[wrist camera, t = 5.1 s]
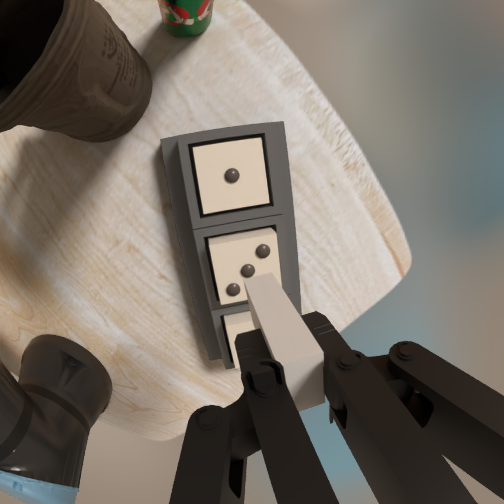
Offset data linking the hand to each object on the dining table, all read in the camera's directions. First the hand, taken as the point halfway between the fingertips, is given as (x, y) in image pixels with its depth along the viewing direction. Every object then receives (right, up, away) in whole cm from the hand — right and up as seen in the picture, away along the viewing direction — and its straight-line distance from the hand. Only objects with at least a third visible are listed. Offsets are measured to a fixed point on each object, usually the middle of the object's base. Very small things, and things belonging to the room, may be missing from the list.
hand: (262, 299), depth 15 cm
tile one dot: (-3, +10, +12) cm, 16 cm away
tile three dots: (-1, +2, +14) cm, 14 cm away
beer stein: (-18, +18, +9) cm, 27 cm away
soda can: (-7, +27, +8) cm, 29 cm away
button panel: (-2, +3, +17) cm, 17 cm away
